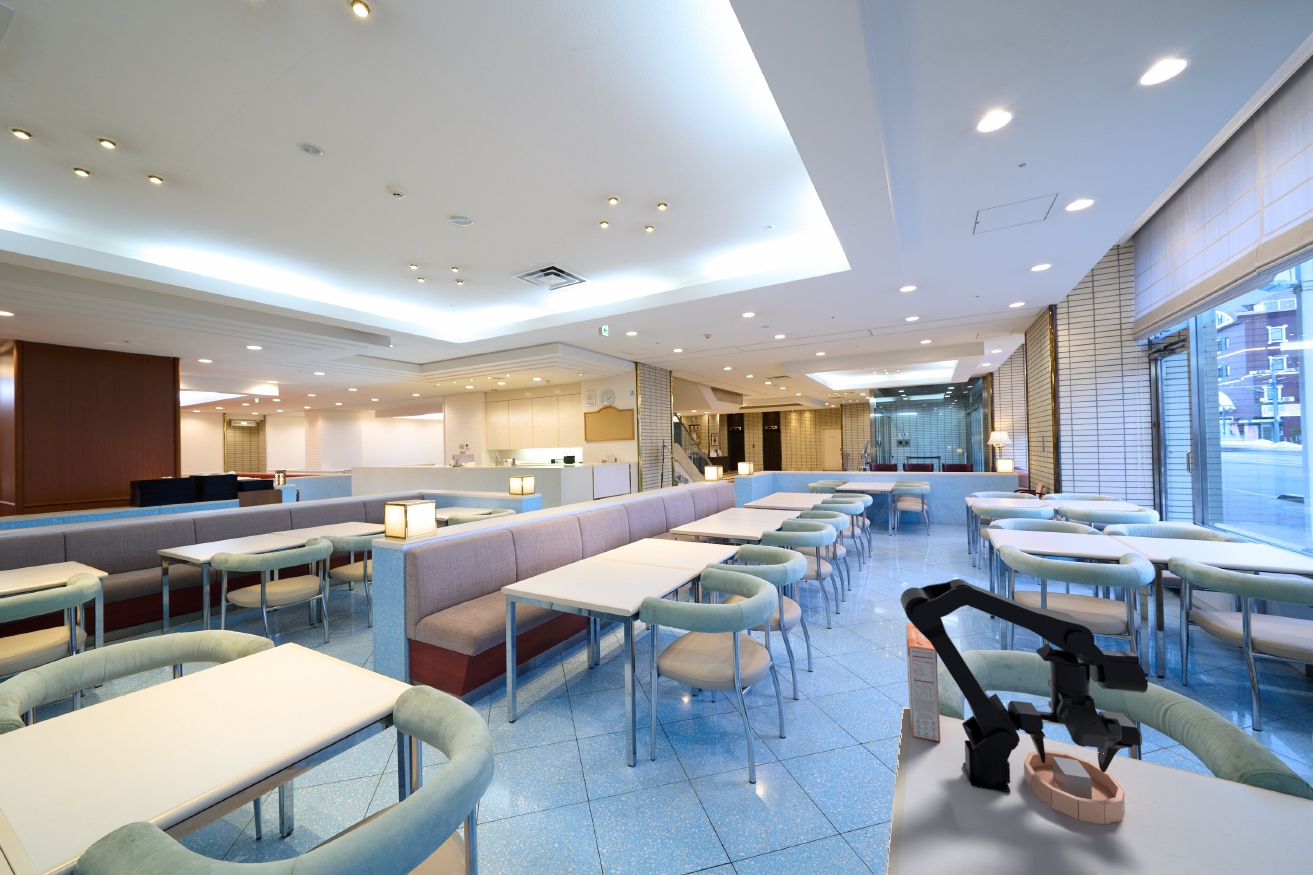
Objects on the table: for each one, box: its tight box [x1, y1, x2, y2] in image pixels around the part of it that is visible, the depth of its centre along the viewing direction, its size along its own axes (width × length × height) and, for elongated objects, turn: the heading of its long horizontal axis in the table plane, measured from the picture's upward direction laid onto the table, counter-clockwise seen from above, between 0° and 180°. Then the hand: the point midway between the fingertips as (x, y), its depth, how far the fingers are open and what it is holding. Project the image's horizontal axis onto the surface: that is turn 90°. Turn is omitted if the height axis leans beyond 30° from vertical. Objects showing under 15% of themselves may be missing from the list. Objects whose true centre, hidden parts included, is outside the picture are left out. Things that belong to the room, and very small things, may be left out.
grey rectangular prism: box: [1053, 757, 1092, 799], centre depth 92 cm, size 4×5×4 cm
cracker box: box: [905, 623, 941, 743], centre depth 115 cm, size 14×6×21 cm, turn 155°
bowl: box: [1023, 749, 1126, 825], centre depth 92 cm, size 14×14×4 cm
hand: (1072, 766), depth 92 cm, fingers open, 9 cm apart
